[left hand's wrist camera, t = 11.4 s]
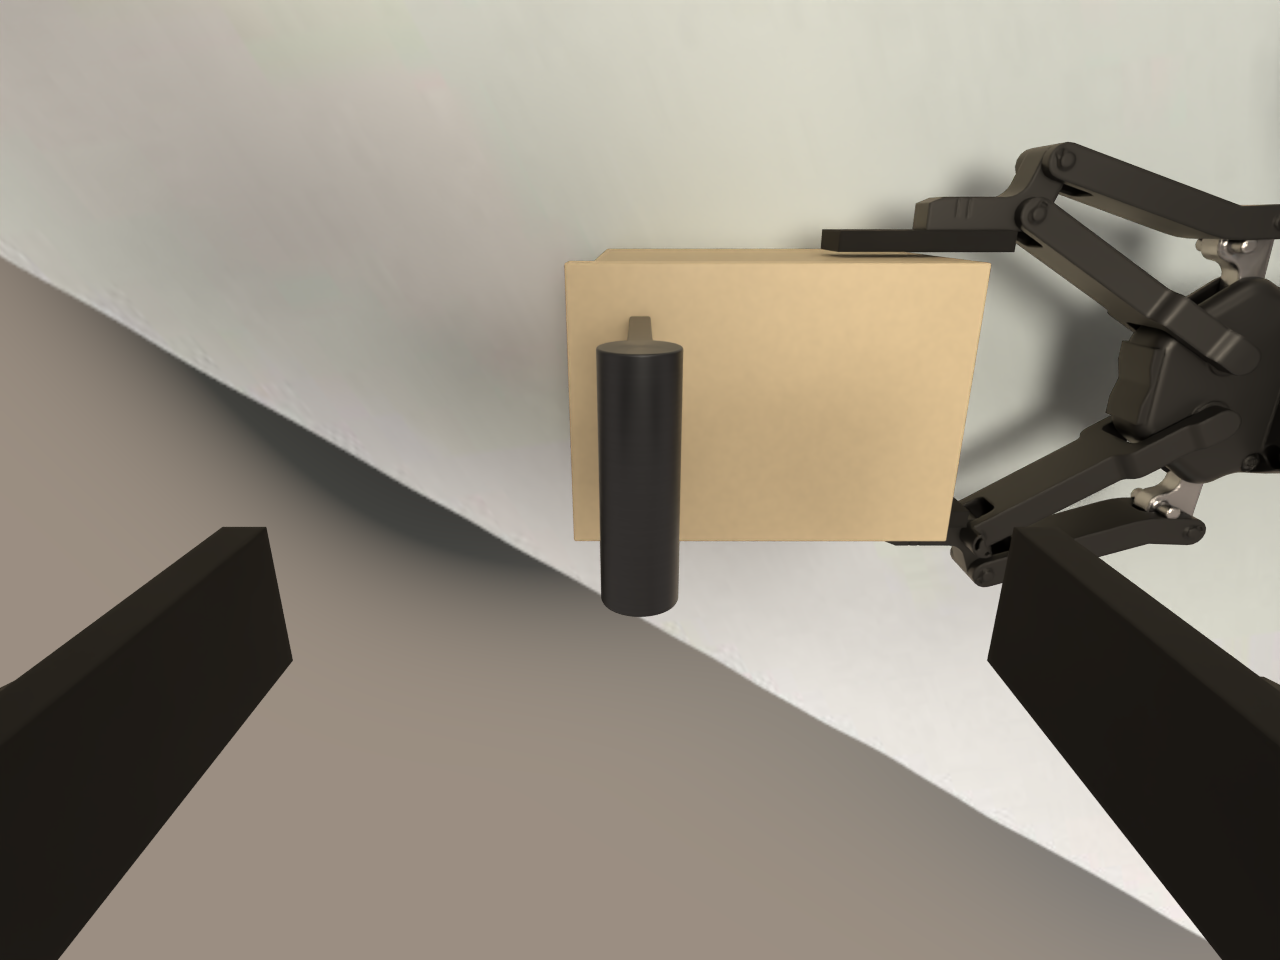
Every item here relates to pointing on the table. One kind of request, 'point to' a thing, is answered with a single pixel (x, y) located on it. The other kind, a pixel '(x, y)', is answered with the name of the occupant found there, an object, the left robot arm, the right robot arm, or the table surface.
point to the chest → (760, 255)
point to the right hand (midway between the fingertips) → (817, 382)
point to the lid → (763, 406)
